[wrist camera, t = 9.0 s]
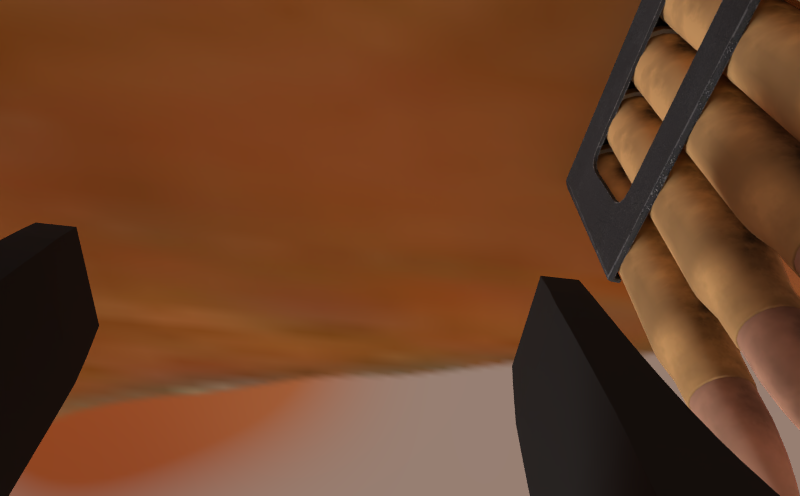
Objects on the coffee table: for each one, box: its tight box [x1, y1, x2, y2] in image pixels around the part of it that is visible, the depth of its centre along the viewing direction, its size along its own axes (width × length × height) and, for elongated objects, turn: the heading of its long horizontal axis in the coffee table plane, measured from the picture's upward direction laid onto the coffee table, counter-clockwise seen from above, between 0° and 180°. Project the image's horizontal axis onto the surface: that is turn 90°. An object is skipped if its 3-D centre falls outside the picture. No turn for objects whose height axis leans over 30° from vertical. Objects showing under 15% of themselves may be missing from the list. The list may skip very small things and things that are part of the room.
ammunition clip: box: [566, 0, 800, 496], centre depth 12 cm, size 11×2×12 cm, turn 168°
